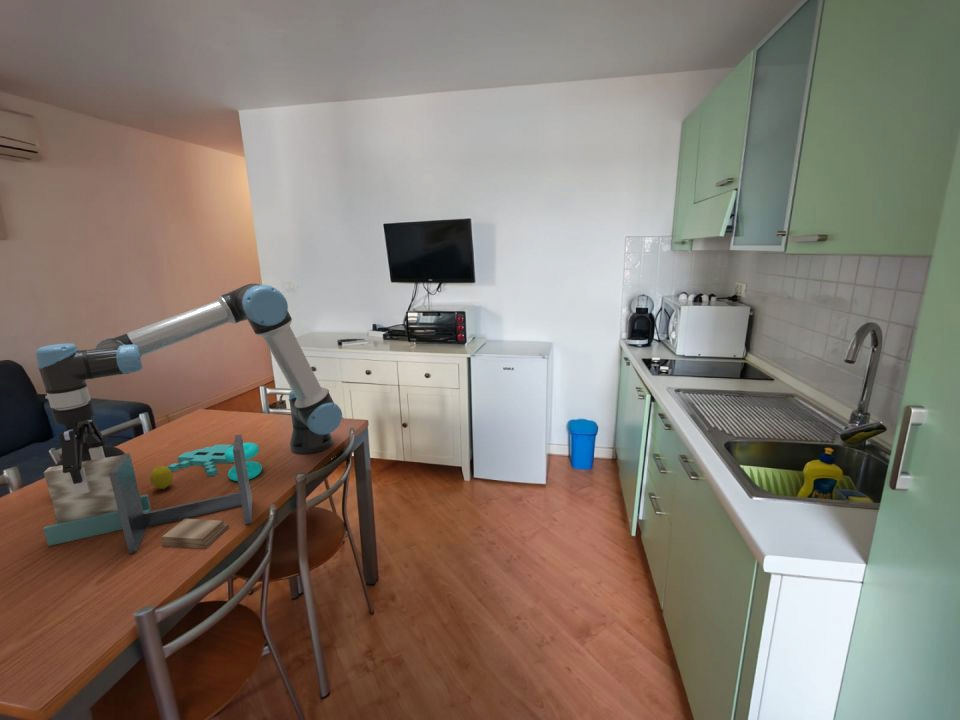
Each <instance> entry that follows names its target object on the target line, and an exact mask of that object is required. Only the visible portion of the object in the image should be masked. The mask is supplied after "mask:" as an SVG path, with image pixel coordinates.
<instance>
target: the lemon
mask: <svg viewBox="0 0 960 720" xmlns="http://www.w3.org/2000/svg"><path fill="white" fill-rule="evenodd" d="M172 472H173V471H171V470H170V469H169V468H168V467H165V466H164V465H158V466H156V467H155V468H154V469H152V471H151V473H150V477H149V478H150V483H151V485H152V486H153V487H154V488H156V489H162V490H165V489H166V488H167V487H169V486H170V484H171V483H172V482H173V473H172Z"/></svg>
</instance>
